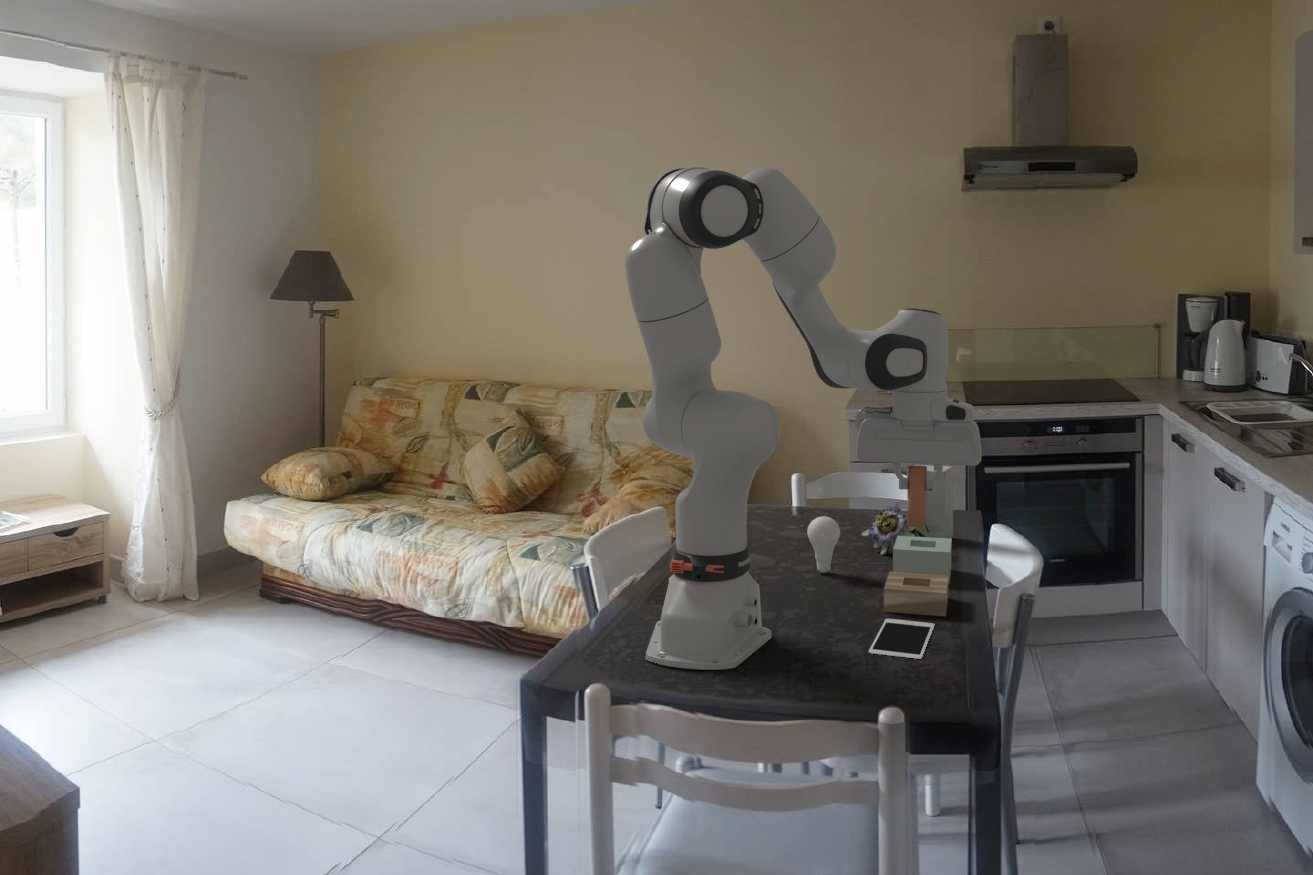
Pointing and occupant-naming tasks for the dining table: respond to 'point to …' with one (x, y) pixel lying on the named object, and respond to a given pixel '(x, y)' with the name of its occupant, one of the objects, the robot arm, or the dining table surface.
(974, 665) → the dining table surface
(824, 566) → the lightbulb
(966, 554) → the dining table surface
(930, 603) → the mount
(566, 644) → the dining table surface
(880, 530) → the passion flower
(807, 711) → the dining table surface
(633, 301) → the robot arm
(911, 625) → the cell phone
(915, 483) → the pin
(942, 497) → the skincare box
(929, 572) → the socket
